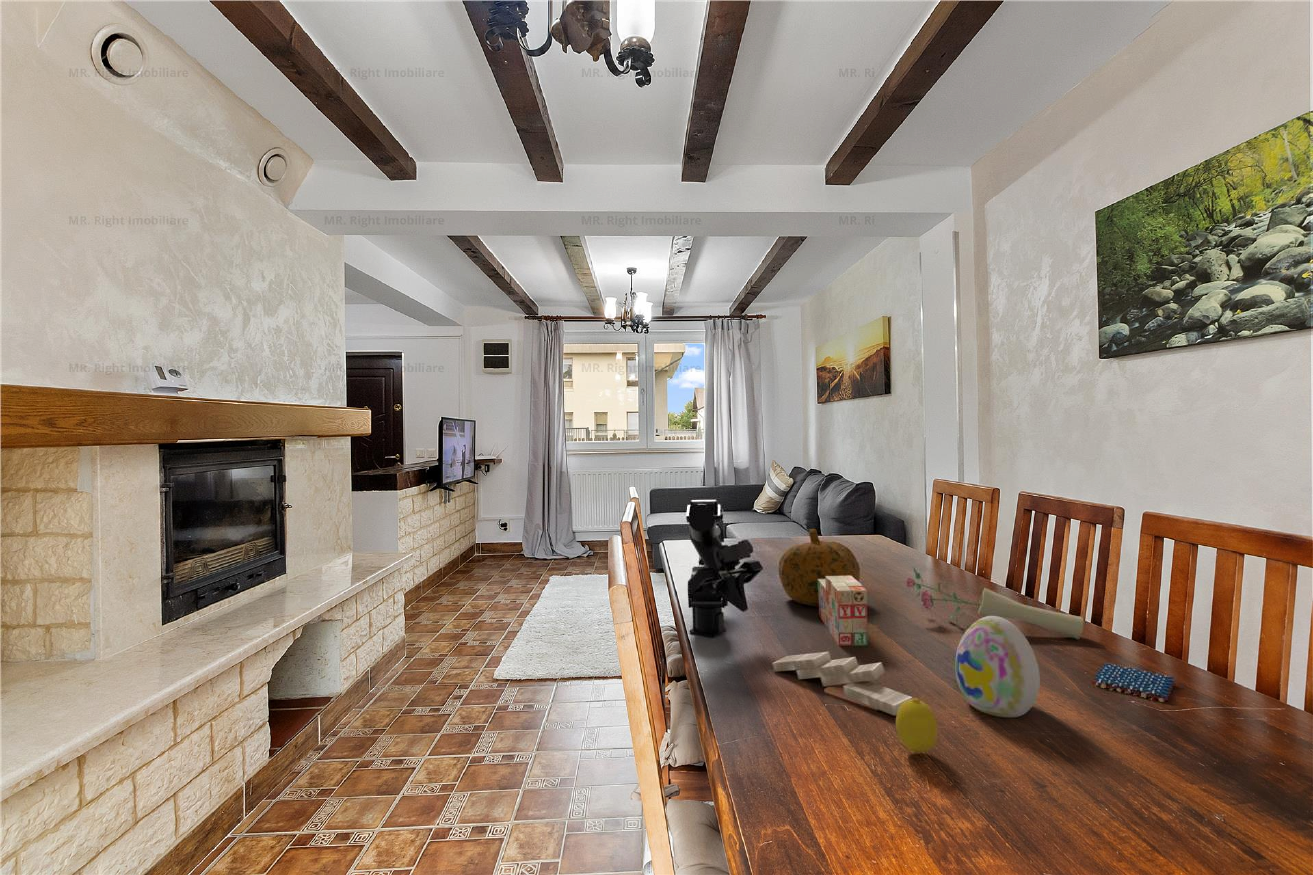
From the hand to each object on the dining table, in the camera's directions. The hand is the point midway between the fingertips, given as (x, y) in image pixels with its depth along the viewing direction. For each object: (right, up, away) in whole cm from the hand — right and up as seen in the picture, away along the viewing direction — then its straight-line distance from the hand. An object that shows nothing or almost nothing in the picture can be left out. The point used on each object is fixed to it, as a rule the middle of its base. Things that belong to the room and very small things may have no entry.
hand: (745, 610), depth 127 cm
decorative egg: (+38, -8, -27) cm, 47 cm away
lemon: (+19, -9, -40) cm, 45 cm away
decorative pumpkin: (+25, -8, +36) cm, 44 cm away
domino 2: (+9, -8, -12) cm, 17 cm away
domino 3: (+13, -8, -16) cm, 22 cm away
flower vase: (+57, -7, +10) cm, 58 cm away
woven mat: (+66, -8, -20) cm, 69 cm away
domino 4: (+13, -9, -18) cm, 24 cm away
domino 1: (+6, -8, -8) cm, 13 cm away
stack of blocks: (+24, -8, +13) cm, 29 cm away
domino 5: (+16, -8, -21) cm, 27 cm away
